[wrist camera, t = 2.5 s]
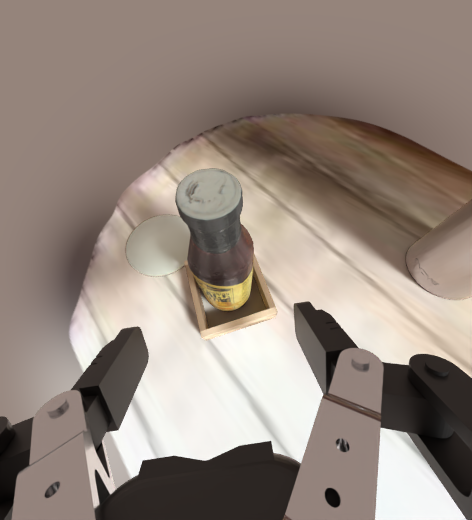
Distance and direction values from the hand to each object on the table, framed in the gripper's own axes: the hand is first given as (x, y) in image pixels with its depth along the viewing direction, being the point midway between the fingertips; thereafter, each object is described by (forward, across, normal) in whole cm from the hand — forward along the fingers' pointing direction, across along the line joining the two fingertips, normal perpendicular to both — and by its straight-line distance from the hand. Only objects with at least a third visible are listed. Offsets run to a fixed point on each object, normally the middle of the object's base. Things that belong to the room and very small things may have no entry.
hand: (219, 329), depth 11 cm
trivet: (+25, +10, 0) cm, 27 cm away
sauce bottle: (+18, 0, +7) cm, 20 cm away
